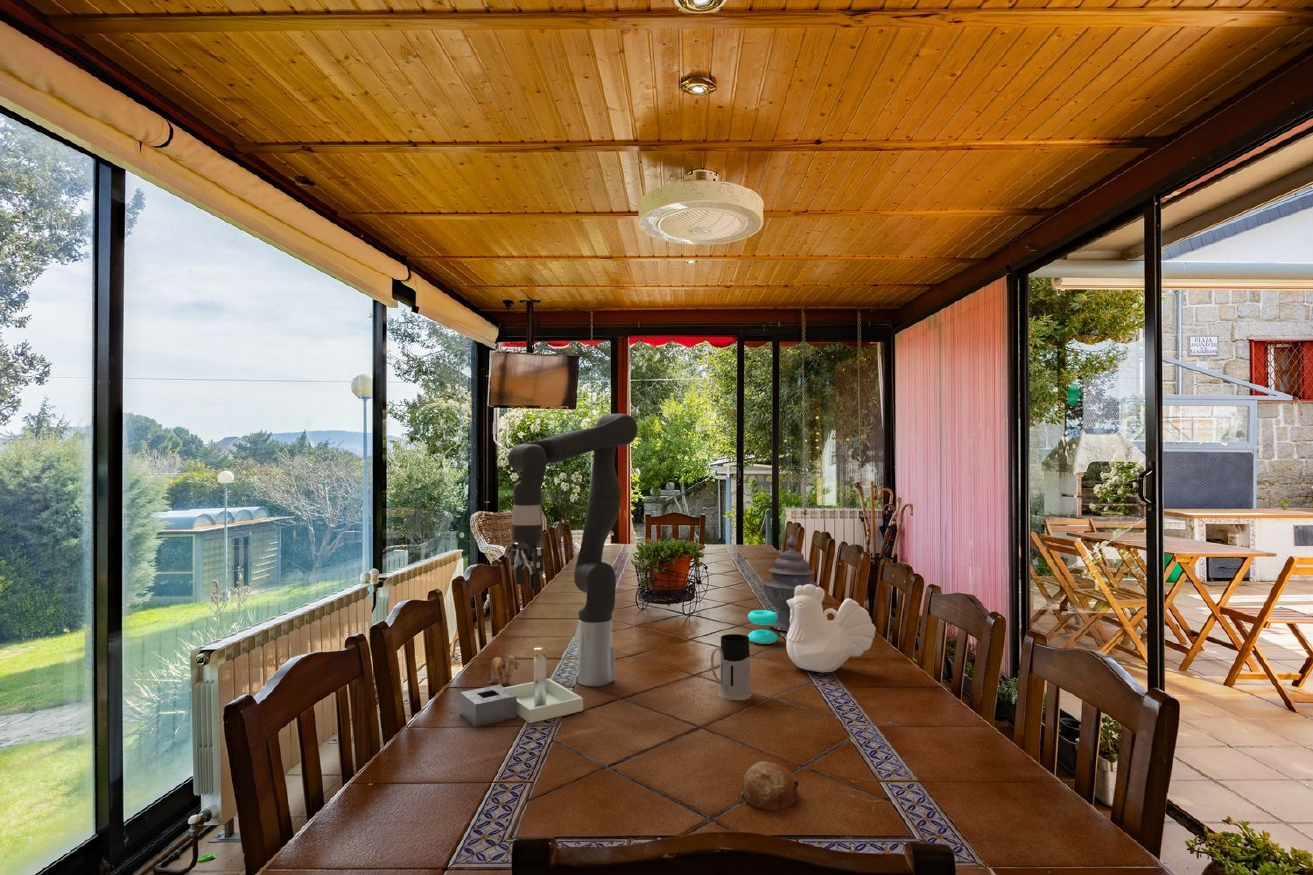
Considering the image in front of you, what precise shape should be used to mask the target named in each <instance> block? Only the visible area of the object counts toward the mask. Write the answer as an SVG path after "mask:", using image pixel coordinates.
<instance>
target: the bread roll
mask: <svg viewBox="0 0 1313 875" xmlns="http://www.w3.org/2000/svg"><path fill="white" fill-rule="evenodd" d="M746 771H747V772H746V773H745V774H744V779H743V780H744V781H743V788H742V790H741V796H743V797H744V799H745V800H746V801H747V802H748V803H749V804H750V805H751V806H752V807H754V808H757V809H761V810H765V811H766V810H767V811H775V810H779V809H778V808H782V809H786V808H789V807H790V805H791V806H792V805H793V804H794V803H796V801H797V799H798V796H799V795H798V791H799V790H798V786H799V782H798V781H797V779H796V778H795V776H794V775H793V773H792V772H791V771H789V769H787V768H786V767H784V766H781V765H780V764H778V763H774V762H773V763H772V762H768V761H765V760H763V761H762V760H761V761H759V762H758V761H757V762H755V763H754V764H753V765H751V766H750V767H749V769H748V770H746ZM785 807H786V808H785Z"/></svg>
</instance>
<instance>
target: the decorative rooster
mask: <svg viewBox="0 0 1313 875" xmlns="http://www.w3.org/2000/svg"><path fill="white" fill-rule="evenodd" d="M825 592H826V591H825V590H824V589H823V588H822V587H820V586H819V587H816V586H814V585H812V584H807V585H804V586H802V585H799V586H797V587H796V588H795V596H794V598H792V599H789V600H787V601H786V602H787V604H788V605H789V607H790V608H791V609H790V624H791V625H790V628H789V631H788V632H787V634H786V637H785V638H786V643H785V644H786V646H785V647H786V652H787V654H788V657H789V658H790V660H791V662H793V664H795V665H796V666H797V667H798V668H800V669H803V670H805V671H807V670H808V671H812V672H818V673H824V672H825V673H824V674H827V673H826V672H832V671H834V672H835V671H836V670H838V669H839V668H840V667H841V666H842V665H843V664H844V663H845V662H846V661H847V660H848V659H849V658H850V657H852V658H853V657H855V658H857V657H858V658H859V657H861V656H862V655H863V654H864V652H867V651H869V650H870V649H871V647H872V644H873V640H874V638H875V634H876V633H875V632H876V626H875V625H874V623H872V618H871V616H870V613H869V612H868V610H867V609H865V608H863V607H862V606H861V605H860V604H859V602H857V601H855V600H853V599H852V598H845V599H844V600H843V602H842V603H841V605H840V606H839V608H838V610H835V609H834V608H832V607H831V608H826V609H825V610H823V604H822V602H823V600H824V598H825V594H826V593H825ZM829 614H832V615H833V616H834V618H833V619H832V620H830V619H828V615H829ZM832 673H833V672H832Z"/></svg>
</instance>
